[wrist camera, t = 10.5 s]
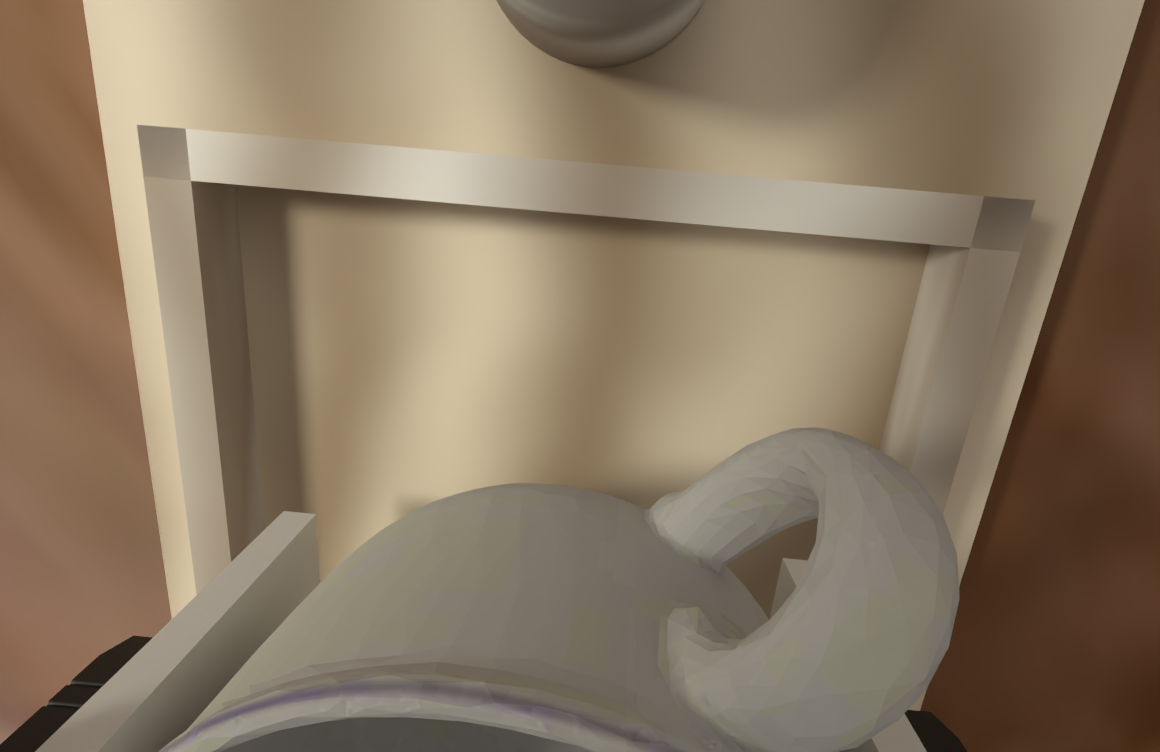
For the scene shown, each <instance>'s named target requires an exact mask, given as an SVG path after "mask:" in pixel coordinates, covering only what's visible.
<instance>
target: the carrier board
mask: <svg viewBox="0 0 1160 752" xmlns="http://www.w3.org/2000/svg"><path fill="white" fill-rule="evenodd" d="M1144 1H1145V0H83V4H84V11H85V18H86V25H87V32H88V39H89V46H90V53H91V60H92V67H93V74H94V81H95V87H96V94H97V101H98V108H99V115H100V122H101V129H102V136H103V143H104V150H105V157H106V164H107V171H108V178H109V185H110V192H111V199H112V206H113V213H114V220H115V227H116V233H117V240H118V247H119V254H120V261H121V268H122V275H123V282H124V289H125V296H126V303H127V310H128V317H129V324H130V331H131V338H132V345H133V352H134V359H135V366H136V373H137V380H138V386H139V393H140V400H141V407H142V414H143V421H144V428H145V435H146V442H147V449H148V456H149V463H150V470H151V477H152V484H153V491H154V498H155V505H156V512H157V519H158V526H159V532H160V539H161V546H162V553H163V560H164V567H165V574H166V581H167V588H168V595H169V602H170V609H171V616H172V619H173V618H174V617H175V616H176V615H177V614H178V613H179V612H180V611H181V610H182V609H183V608H184V607H185V606H186V605H187V604H188V603H189V602H190V601H191V600H192V599H193V598H194V597H195V596H196V595H198V594H199V593H200V592H201V591H202V590H203V589H204V588H205V587H206V586H207V585H208V584H209V583H210V582H211V581H212V580H213V579H214V578H215V577H216V576H217V575H218V574H219V573H220V572H221V571H222V570H223V569H224V568H225V567H226V566H227V565H229V564H230V563H231V562H232V561H233V560H234V559H235V558H236V557H237V556H238V555H239V554H240V553H241V552H242V551H243V550H244V549H245V548H246V547H247V546H248V545H249V544H250V543H251V542H252V541H253V540H254V539H255V538H256V537H257V536H259V535H260V534H261V533H262V532H263V531H264V530H265V529H266V528H267V527H268V526H269V525H270V524H271V523H272V522H273V521H274V520H275V519H276V518H277V517H278V516H279V515H280V514H281V513H282V512H283V511H289V512H300V513H310V514H316V521H317V539H318V557H319V575H320V583H321V582H322V581H323V580H324V579H325V578H326V577H327V576H328V575H329V574H330V573H331V572H332V571H333V570H334V569H335V568H336V567H337V566H338V565H339V564H341V563H342V562H343V561H344V560H345V559H346V558H347V557H349V556H350V555H351V554H352V553H353V552H354V551H355V550H357V549H358V548H359V547H360V546H361V545H362V544H364V543H365V542H366V541H368V540H369V539H370V538H372V537H373V536H374V535H375V534H377V533H378V532H379V531H381V530H382V529H384V528H385V527H387V526H389V525H390V524H392V523H394V522H395V521H397V520H399V519H400V518H402V517H404V516H406V515H407V514H409V513H411V512H413V511H415V510H417V509H419V508H420V507H422V506H425V505H427V504H429V503H431V502H434V501H437V500H440V499H443V498H446V497H449V496H452V495H455V494H458V493H462V492H466V491H469V490H473V489H478V488H483V487H489V486H496V485H503V484H511V483H539V484H553V485H567V486H573V487H578V488H583V489H588V490H593V491H598V492H601V493H604V494H607V495H610V496H613V497H616V498H619V499H622V500H625V501H628V502H630V503H632V504H635V505H637V506H639V507H641V508H644V509H650V508H651V507H652V506H653V505H654V504H655V503H656V502H657V501H658V500H659V499H660V498H662V497H663V496H665V495H666V494H669V493H672V492H676V491H681V492H682V491H684V490H685V489H686V488H688V487H689V486H690V485H692V484H693V483H694V482H696V481H697V480H698V479H700V478H701V477H702V476H704V475H705V474H706V473H708V472H709V471H710V470H711V469H713V468H714V467H715V466H717V465H718V464H720V463H721V462H723V461H724V460H726V459H727V458H729V457H730V456H732V455H733V454H735V453H736V452H738V451H739V450H741V449H742V448H744V447H745V446H747V445H749V444H752V443H754V442H756V441H759V440H761V439H764V438H766V437H768V436H771V435H774V434H777V433H779V432H783V431H786V430H790V429H793V428H811V427H817V428H824V429H830V430H834V431H837V432H840V433H844V434H847V435H850V436H853V437H855V438H857V439H859V440H861V441H862V442H864V443H866V444H868V445H870V446H872V447H873V448H875V449H877V450H879V451H881V452H883V453H884V454H886V455H888V456H890V457H892V458H893V459H894V460H896V461H897V462H898V463H899V464H900V465H902V466H903V467H904V468H905V469H906V470H908V471H909V472H910V473H911V474H912V475H914V476H915V477H916V478H917V479H918V480H920V481H921V482H922V484H923V485H924V487H925V488H926V490H927V491H928V493H929V494H930V496H931V497H932V499H933V500H934V502H935V503H936V504H937V506H938V507H939V509H940V510H941V512H942V513H943V516H944V518H945V521H946V524H947V527H948V530H949V533H950V535H951V538H952V541H953V544H954V547H955V549H956V552H957V561H958V579H959V586H960V583H961V580H962V576H963V573H964V570H965V567H966V564H967V561H968V557H969V554H970V551H971V548H972V545H973V542H974V538H975V535H976V532H977V529H978V526H979V523H980V520H981V516H982V513H983V510H984V507H985V504H986V501H987V497H988V494H989V491H990V488H991V485H992V482H993V478H994V475H995V472H996V469H997V466H998V463H999V459H1000V456H1001V453H1002V450H1003V447H1004V444H1005V441H1006V437H1007V434H1008V431H1009V428H1010V425H1011V422H1012V418H1013V415H1014V412H1015V409H1016V406H1017V403H1018V399H1019V396H1020V393H1021V390H1022V387H1023V384H1024V380H1025V377H1026V374H1027V371H1028V368H1029V365H1030V362H1031V358H1032V355H1033V352H1034V349H1035V346H1036V343H1037V339H1038V336H1039V333H1040V330H1041V327H1042V324H1043V320H1044V317H1045V314H1046V311H1047V308H1048V305H1049V301H1050V298H1051V295H1052V292H1053V289H1054V286H1055V283H1056V279H1057V276H1058V273H1059V270H1060V267H1061V264H1062V260H1063V257H1064V254H1065V251H1066V248H1067V245H1068V241H1069V238H1070V235H1071V232H1072V229H1073V226H1074V222H1075V219H1076V216H1077V213H1078V210H1079V207H1080V204H1081V200H1082V197H1083V194H1084V191H1085V188H1086V185H1087V181H1088V178H1089V175H1090V172H1091V169H1092V166H1093V162H1094V159H1095V156H1096V153H1097V150H1098V147H1099V144H1100V140H1101V137H1102V134H1103V131H1104V128H1105V125H1106V121H1107V118H1108V115H1109V112H1110V109H1111V106H1112V102H1113V99H1114V96H1115V93H1116V90H1117V87H1118V83H1119V80H1120V77H1121V74H1122V71H1123V68H1124V65H1125V61H1126V58H1127V55H1128V52H1129V49H1130V46H1131V42H1132V39H1133V36H1134V33H1135V30H1136V27H1137V23H1138V20H1139V17H1140V14H1141V11H1142V8H1143V4H1144ZM817 525H818V518H815V519H812V520H809V521H806V522H803V523H800V524H797V525H794V526H792V527H789V528H787V529H785V530H783V531H781V532H779V533H778V534H776V535H774V536H772V537H771V538H769V539H767V540H766V541H764V542H762V543H761V544H759V545H757V546H756V547H754V548H752V549H751V550H749V551H747V552H745V553H744V554H742V555H741V556H739V557H738V558H736V559H734V560H733V561H731V562H730V563H728V564H727V565H726V566H727V567H728V568H729V569H730V570H731V571H732V573H733V574H734V575H735V576H736V577H737V578H738V579H739V580H740V581H741V583H742V584H743V585H744V586H745V587H746V588H747V589H748V591H749V592H750V593H751V595H752V596H753V598H754V599H755V600H756V602H757V603H758V604H759V606H760V607H761V608H762V610H763V611H764V613H765V614H766V616H767V618H768V619H769V620H770V615H771V610H772V605H773V601H774V596H775V591H776V587H777V582H778V577H779V572H780V568H781V563H782V558H787V559H798V560H808V559H809V557H810V554H811V552H812V550H813V547H814V545H815V543H816V534H817ZM926 690H927V689H926ZM926 690H925V692H924V693H923V694H922V695H921V696H920V697H919V698H918V699H917V700H916V701H915V702H914V704H913V705H912V706H911V707H910V708H909V709H908V710H915V711H920V709H921V706H922V703H923V700H924V696H925V693H926Z"/></svg>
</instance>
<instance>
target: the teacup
mask: <svg viewBox="0 0 1160 752" xmlns="http://www.w3.org/2000/svg"><path fill="white" fill-rule="evenodd" d="M815 518H818V525H817V534H816V543H815V545H814V547H813V550H812V552H811V554H810V557H809V559H808V561H807V563H806V566H805V568H804V570H803V573H802V575H801V577H800V579H799V582H798V584H797V586H796V588H795V590H794V591H793V593H792V594H791V595H790V596H789V597H788V599H787V600H786V601H785V602H784V603H783V605H782V606H781V607H780V608H779V609H778V611H777V612H776V613H775V614H774V615H773V617H772V618H771V619H770V620H769V619H768V618H767V616H766V614H765V613H764V611H763V610H762V608H761V607H760V606H759V604H758V603H757V602H756V600H755V599H754V598H753V596H752V595H751V593H750V592H749V591H748V589H747V588H746V587H745V586H744V585H743V584H742V583H741V581H740V580H739V579H738V578H737V577H736V576H735V575H734V574H733V573H732V571H731V570H730V569H729V568H728V567H727V566H726V565H727V564H728V563H730V562H731V561H733V560H734V559H736V558H738V557H739V556H741V555H742V554H744V553H745V552H747V551H749V550H751V549H752V548H754V547H756V546H757V545H759V544H761V543H762V542H764V541H766V540H767V539H769V538H771V537H772V536H774V535H776V534H778V533H779V532H781V531H783V530H785V529H787V528H789V527H792V526H794V525H797V524H800V523H803V522H806V521H809V520H812V519H815ZM959 599H960V597H959V579H958V561H957V552H956V549H955V547H954V544H953V541H952V538H951V535H950V533H949V530H948V527H947V524H946V521H945V518H944V516H943V513H942V512H941V510H940V509H939V507H938V506H937V504H936V503H935V502H934V500H933V499H932V497H931V496H930V494H929V493H928V491H927V490H926V488H925V487H924V485H923V484H922V482H921V481H920V480H918V479H917V478H916V477H915V476H914V475H912V474H911V473H910V472H909V471H908V470H906V469H905V468H904V467H903V466H902V465H900V464H899V463H898V462H897V461H896V460H894V459H893V458H892V457H890V456H888V455H886V454H884V453H883V452H881V451H879V450H877V449H875V448H873V447H872V446H870V445H868V444H866V443H864V442H862V441H861V440H859V439H857V438H855V437H853V436H850V435H847V434H844V433H840V432H837V431H834V430H830V429H824V428H817V427H811V428H793V429H790V430H786V431H783V432H779V433H777V434H774V435H771V436H768V437H766V438H764V439H761V440H759V441H756V442H754V443H752V444H749V445H747V446H745V447H744V448H742V449H741V450H739V451H738V452H736V453H735V454H733V455H732V456H730V457H729V458H727V459H726V460H724V461H723V462H721V463H720V464H718V465H717V466H715V467H714V468H713V469H711V470H710V471H709V472H708V473H706V474H705V475H704V476H702V477H701V478H700V479H698V480H697V481H696V482H694V483H693V484H692V485H690V486H689V487H688V488H686V489H685V490H684V491H682V492H681V491H676V492H672V493H669V494H666V495H665V496H663V497H662V498H660V499H659V500H658V501H657V502H656V503H655V504H654V505H653V506H652V507H651V508H650V509H644V508H641V507H639V506H637V505H635V504H632V503H630V502H628V501H625V500H622V499H619V498H616V497H613V496H610V495H607V494H604V493H601V492H598V491H593V490H588V489H583V488H578V487H573V486H567V485H553V484H539V483H511V484H503V485H496V486H489V487H483V488H478V489H473V490H469V491H466V492H462V493H458V494H455V495H452V496H449V497H446V498H443V499H440V500H437V501H434V502H431V503H429V504H427V505H425V506H422V507H420V508H419V509H417V510H415V511H413V512H411V513H409V514H407V515H406V516H404V517H402V518H400V519H399V520H397V521H395V522H394V523H392V524H390V525H389V526H387V527H385V528H384V529H382V530H381V531H379V532H378V533H377V534H375V535H374V536H373V537H372V538H370V539H369V540H368V541H366V542H365V543H364V544H362V545H361V546H360V547H359V548H358V549H357V550H355V551H354V552H353V553H352V554H351V555H350V556H349V557H347V558H346V559H345V560H344V561H343V562H342V563H341V564H339V565H338V566H337V567H336V568H335V569H334V570H333V571H332V572H331V573H330V574H329V575H328V576H327V577H326V578H325V579H324V580H323V581H322V582H321V583H320V584H319V585H318V586H317V587H316V588H315V589H314V590H313V591H312V592H311V593H310V594H309V595H308V596H307V597H306V598H305V599H304V600H303V601H302V602H301V603H300V604H299V605H298V606H297V607H296V608H295V610H294V611H293V612H292V613H291V614H290V615H289V616H288V617H287V618H286V619H285V620H284V621H283V622H282V624H281V625H280V626H279V627H278V628H277V629H276V630H275V631H274V632H273V633H272V634H271V635H270V637H269V638H268V639H267V640H266V641H265V642H264V643H263V644H262V645H261V646H260V647H259V648H258V649H257V651H256V652H255V653H254V654H253V655H252V656H251V657H250V658H249V660H248V661H247V662H246V663H245V664H244V665H243V666H242V668H241V669H240V670H239V671H238V672H237V673H236V674H235V675H234V677H233V678H232V679H231V680H230V681H229V682H228V683H227V685H226V686H225V687H224V688H223V689H222V690H221V691H220V693H219V694H218V695H217V696H216V697H215V698H214V699H213V701H212V702H211V703H210V704H209V705H208V706H207V707H206V709H205V710H204V711H203V712H202V713H201V714H200V715H199V717H198V718H197V719H196V720H195V721H194V722H193V723H192V725H191V726H190V727H189V728H188V729H187V730H186V731H185V732H183V733H182V734H181V735H179V736H178V737H177V738H175V739H174V740H172V741H171V742H170V743H168V744H167V745H166V746H164V747H163V748H162V749H161V750H159V751H158V752H839V751H844V750H848V749H852V748H857V747H858V746H860V745H861V744H863V743H864V742H866V741H867V740H869V739H870V738H872V737H873V736H875V735H876V734H878V733H879V732H881V731H882V730H884V729H885V728H887V727H888V726H890V725H891V724H893V723H894V722H896V721H897V720H899V719H900V717H901V716H902V715H903V714H904V713H905V712H906V711H907V710H908V709H909V708H910V707H911V706H912V705H913V704H914V702H915V701H916V700H917V699H918V698H919V697H920V696H921V695H922V694H923V693H924V692H925V690H926V689H927V687H928V685H929V683H930V681H931V679H932V677H933V676H934V674H935V672H936V670H937V668H938V666H939V664H940V663H941V661H942V659H943V657H944V655H945V653H946V651H947V650H948V648H949V644H950V640H951V635H952V630H953V626H954V621H955V617H956V612H957V608H958V603H959Z"/></svg>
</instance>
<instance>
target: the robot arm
mask: <svg viewBox="0 0 1160 752" xmlns="http://www.w3.org/2000/svg"><path fill="white" fill-rule="evenodd" d="M807 561H808V560H798V559H787V558H782V563H781V568H780V572H779V577H778V582H777V587H776V591H775V596H774V601H773V605H772V610H771V615H770V619H771V618H772V617H773V615H774V614H775V613H776V612H777V611H778V609H779V608H780V607H781V606H782V605H783V603H784V602H785V601H786V600H787V599H788V597H789V596H790V595H791V594H792V593H793V591H794V590H795V588H796V586H797V584H798V582H799V579H800V577H801V575H802V573H803V570H804V568H805V566H806V563H807ZM319 584H320V575H319V557H318V539H317V521H316V514H310V513H300V512H289V511H283V512H282V513H281V514H280V515H279V516H278V517H277V518H276V519H275V520H274V521H273V522H272V523H271V524H270V525H269V526H268V527H267V528H266V529H265V530H264V531H263V532H262V533H261V534H260V535H259V536H257V537H256V538H255V539H254V540H253V541H252V542H251V543H250V544H249V545H248V546H247V547H246V548H245V549H244V550H243V551H242V552H241V553H240V554H239V555H238V556H237V557H236V558H235V559H234V560H233V561H232V562H231V563H230V564H229V565H227V566H226V567H225V568H224V569H223V570H222V571H221V572H220V573H219V574H218V575H217V576H216V577H215V578H214V579H213V580H212V581H211V582H210V583H209V584H208V585H207V586H206V587H205V588H204V589H203V590H202V591H201V592H200V593H199V594H198V595H196V596H195V597H194V598H193V599H192V600H191V601H190V602H189V603H188V604H187V605H186V606H185V607H184V608H183V609H182V610H181V611H180V612H179V613H178V614H177V615H176V616H175V617H174V618H173V619H172V620H171V621H170V622H169V623H168V624H167V625H165V626H164V627H163V628H162V629H161V630H160V631H159V632H158V633H157V634H156V635H155V636H154V637H153V638H151V637H141V636H132V637H131V638H129V639H127V640H125V641H124V642H122V643H120V644H118V645H117V646H115V647H113V648H112V649H110V650H108V651H106V652H105V653H103V654H101V655H99V656H98V657H97V658H96V659H95V660H94V661H93V662H92V663H90V664H89V665H88V666H87V667H86V668H85V669H84V670H83V671H82V672H80V673H79V674H78V675H77V676H76V677H75V678H74V679H73V680H72V682H71V684H70V685H66V686H65V687H64V688H63V689H62V690H60V691H59V692H58V693H57V694H56V695H55V696H54V697H53V698H52V699H50V700H49V703H48V705H47V706H46V707H45V706H43V707H42V708H40V709H39V710H38V711H37V712H36V713H35V714H34V715H33V716H32V717H30V718H29V719H28V720H27V721H26V722H25V723H24V724H23V725H22V726H20V727H19V728H18V729H17V730H16V731H15V732H14V733H13V734H12V735H10V736H9V737H8V738H7V739H6V740H5V741H4V742H3V743H2V744H0V752H158V751H159V750H161V749H162V748H163V747H164V746H166V745H167V744H168V743H170V742H171V741H172V740H174V739H175V738H177V737H178V736H179V735H181V734H182V733H183V732H185V731H186V730H187V729H188V728H189V727H190V726H191V725H192V723H193V722H194V721H195V720H196V719H197V718H198V717H199V715H200V714H201V713H202V712H203V711H204V710H205V709H206V707H207V706H208V705H209V704H210V703H211V702H212V701H213V699H214V698H215V697H216V696H217V695H218V694H219V693H220V691H221V690H222V689H223V688H224V687H225V686H226V685H227V683H228V682H229V681H230V680H231V679H232V678H233V677H234V675H235V674H236V673H237V672H238V671H239V670H240V669H241V668H242V666H243V665H244V664H245V663H246V662H247V661H248V660H249V658H250V657H251V656H252V655H253V654H254V653H255V652H256V651H257V649H258V648H259V647H260V646H261V645H262V644H263V643H264V642H265V641H266V640H267V639H268V638H269V637H270V635H271V634H272V633H273V632H274V631H275V630H276V629H277V628H278V627H279V626H280V625H281V624H282V622H283V621H284V620H285V619H286V618H287V617H288V616H289V615H290V614H291V613H292V612H293V611H294V610H295V608H296V607H297V606H298V605H299V604H300V603H301V602H302V601H303V600H304V599H305V598H306V597H307V596H308V595H309V594H310V593H311V592H312V591H313V590H314V589H315V588H316V587H317V586H318V585H319ZM839 752H967V751H966V749H965V748H964V746H963V745H962V743H961V742H960V740H959V739H958V738H957V737H956V736H955V735H954V734H953V733H952V732H951V731H950V730H949V729H948V728H947V727H946V726H945V725H944V724H943V723H941V722H940V721H939V720H938V719H937V718H936V717H935V716H934V715H933V714H932V713H931V712H925V711H915V710H907V711H906V712H905V713H904V714H903V715H902V716H901V717H900V719H899V720H897V721H896V722H894V723H893V724H891V725H890V726H888V727H887V728H885V729H884V730H882V731H881V732H879V733H878V734H876V735H875V736H873V737H872V738H870V739H869V740H867V741H866V742H864V743H863V744H861V745H860V746H858V747H857V748H852V749H848V750H844V751H839Z"/></svg>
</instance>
